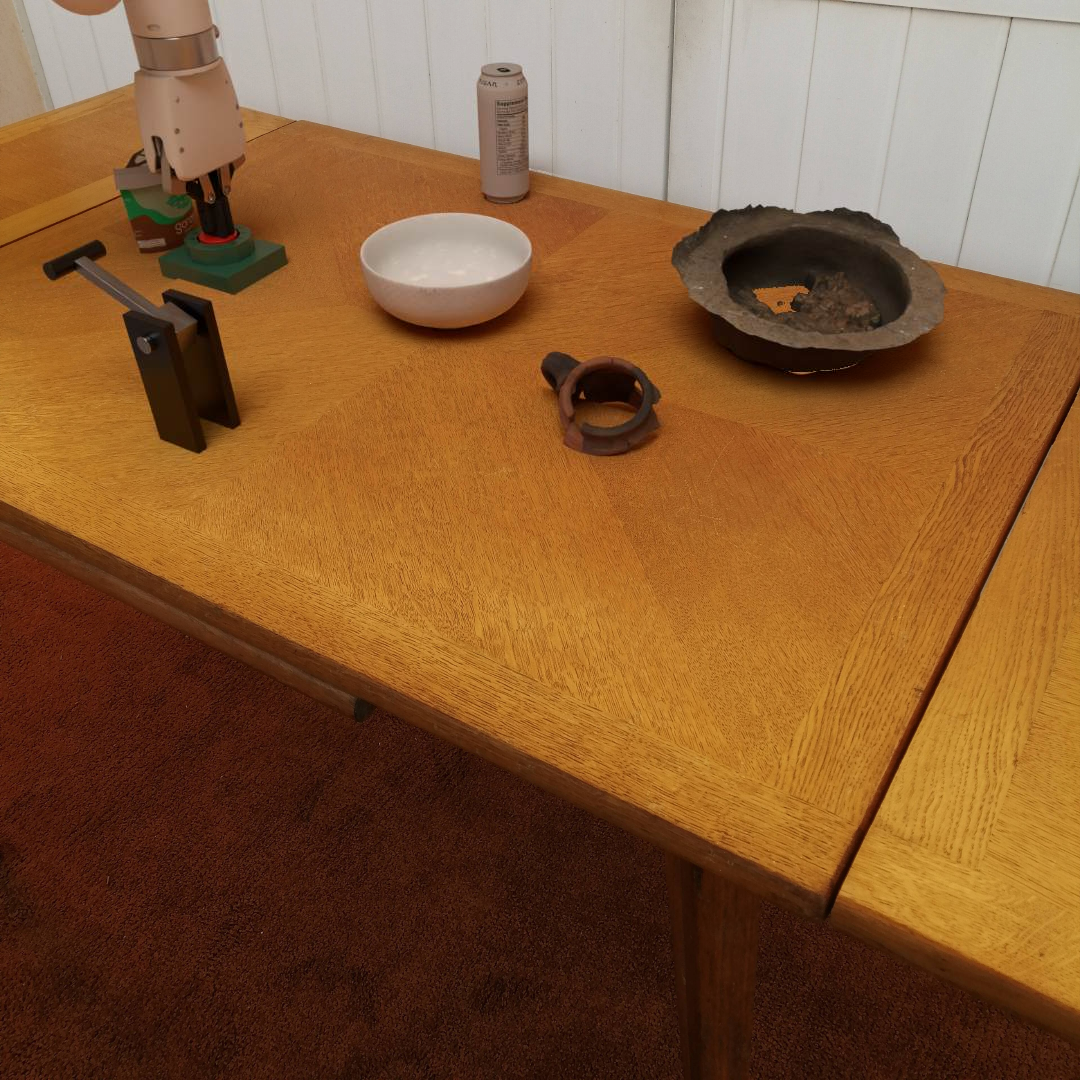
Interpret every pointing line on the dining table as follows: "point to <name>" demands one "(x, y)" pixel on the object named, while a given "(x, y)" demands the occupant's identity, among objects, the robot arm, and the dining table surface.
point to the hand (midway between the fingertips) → (219, 233)
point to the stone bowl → (808, 285)
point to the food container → (153, 207)
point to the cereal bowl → (447, 268)
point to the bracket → (183, 372)
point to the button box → (224, 261)
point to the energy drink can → (503, 132)
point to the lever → (120, 289)
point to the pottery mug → (601, 400)
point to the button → (216, 239)
